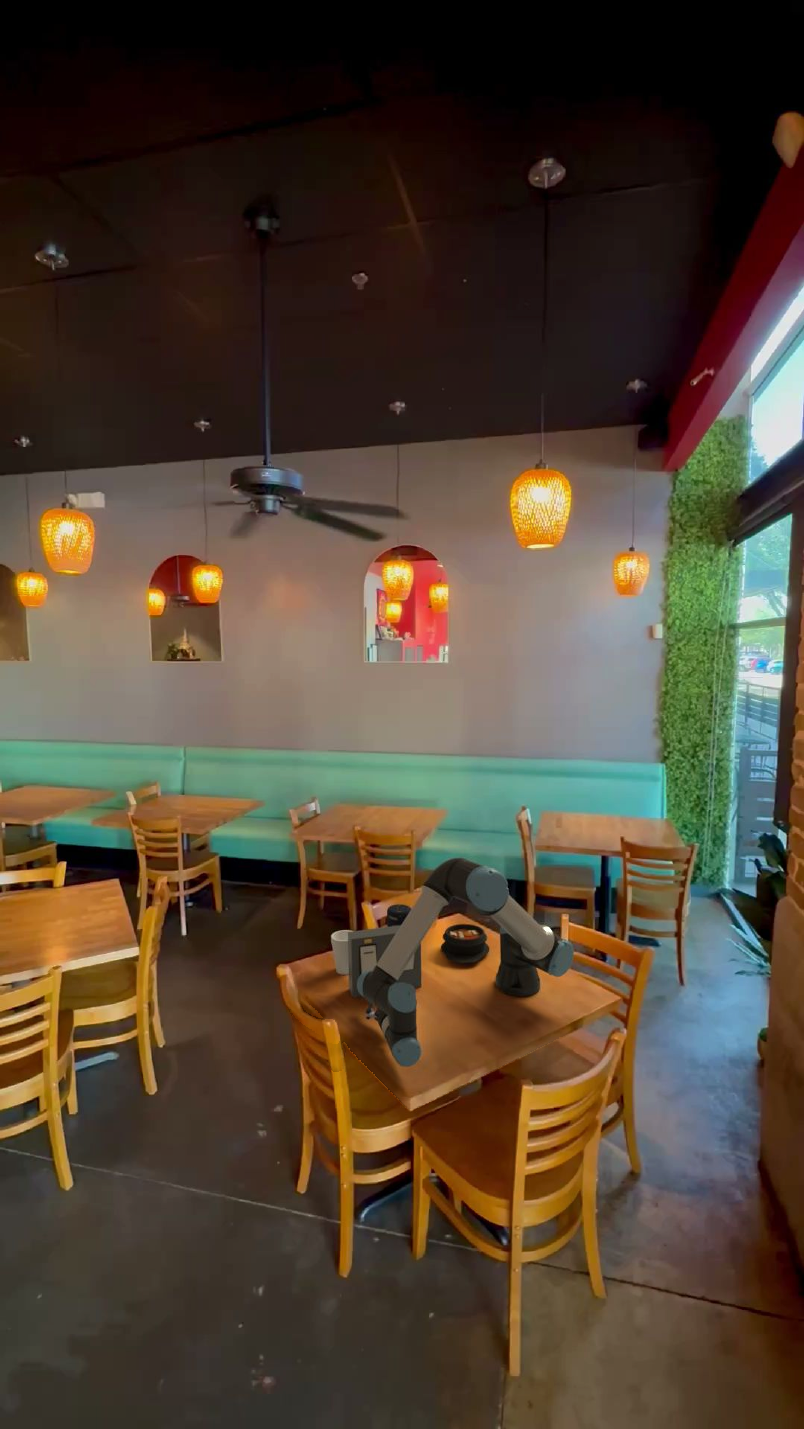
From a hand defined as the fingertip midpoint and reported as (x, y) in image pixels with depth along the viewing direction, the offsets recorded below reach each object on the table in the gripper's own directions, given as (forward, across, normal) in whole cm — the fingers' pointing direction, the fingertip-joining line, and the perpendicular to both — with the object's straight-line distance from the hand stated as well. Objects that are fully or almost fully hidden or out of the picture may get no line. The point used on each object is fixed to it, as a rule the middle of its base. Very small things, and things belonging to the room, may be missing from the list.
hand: (374, 985), depth 205 cm
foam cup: (+28, -4, -8) cm, 30 cm away
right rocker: (+9, +13, 0) cm, 16 cm away
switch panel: (+16, +7, -8) cm, 19 cm away
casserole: (+28, +42, -8) cm, 52 cm away
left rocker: (+6, 0, 0) cm, 6 cm away
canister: (+38, +19, -8) cm, 43 cm away
